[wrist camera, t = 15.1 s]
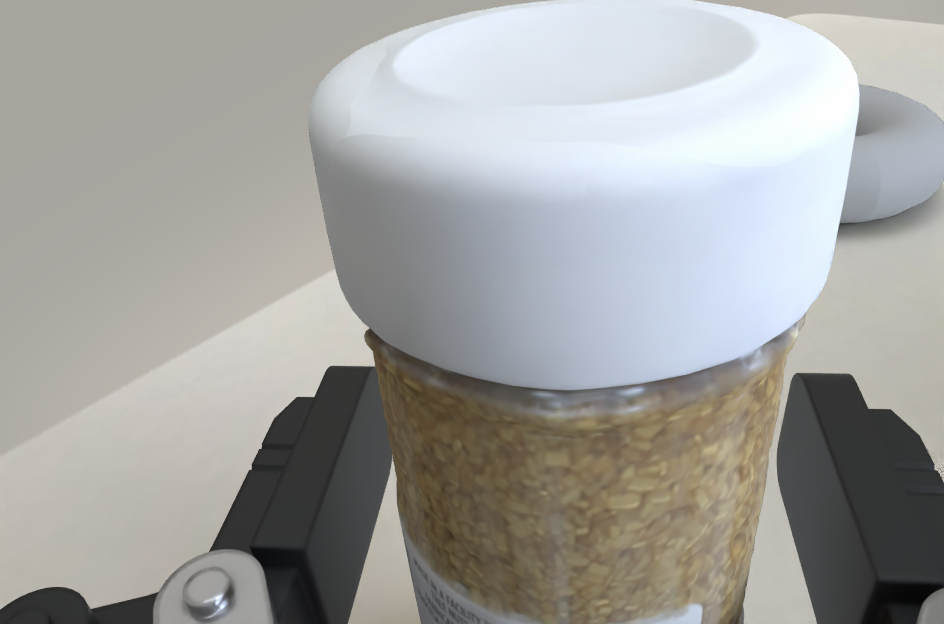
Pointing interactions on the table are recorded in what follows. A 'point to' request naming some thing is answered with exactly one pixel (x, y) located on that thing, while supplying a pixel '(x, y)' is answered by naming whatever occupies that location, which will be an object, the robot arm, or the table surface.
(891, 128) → the donut
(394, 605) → the table surface
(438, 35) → the sprinkles bottle
